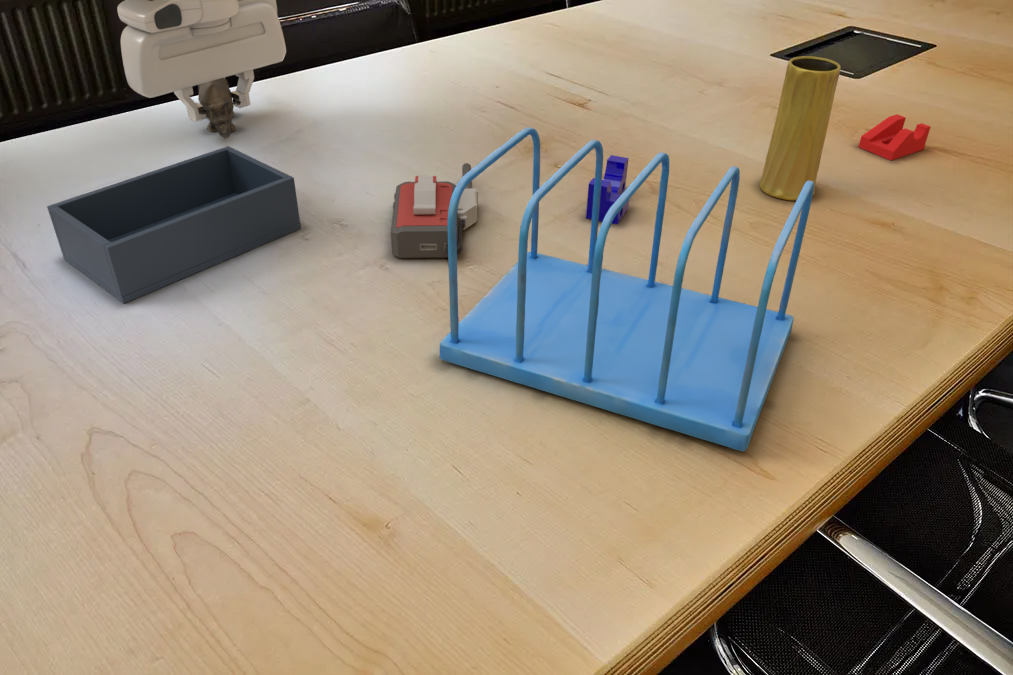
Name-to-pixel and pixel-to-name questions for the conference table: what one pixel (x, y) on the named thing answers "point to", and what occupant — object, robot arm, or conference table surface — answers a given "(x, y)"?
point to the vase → (800, 126)
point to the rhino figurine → (217, 106)
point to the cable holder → (610, 188)
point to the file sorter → (627, 319)
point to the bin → (174, 221)
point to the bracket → (894, 138)
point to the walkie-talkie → (429, 216)
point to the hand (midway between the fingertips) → (220, 112)
